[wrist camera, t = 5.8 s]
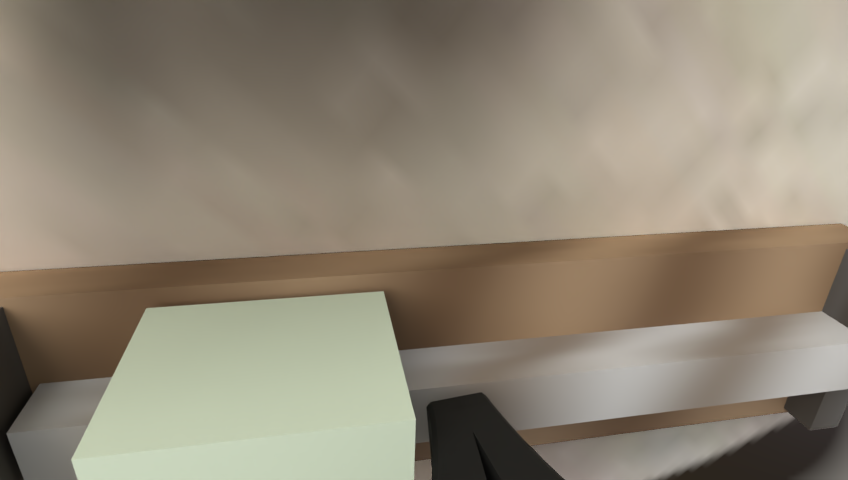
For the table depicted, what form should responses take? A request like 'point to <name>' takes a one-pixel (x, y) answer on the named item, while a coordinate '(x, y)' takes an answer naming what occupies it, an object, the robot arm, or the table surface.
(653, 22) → the table surface
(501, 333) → the rail
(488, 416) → the robot arm
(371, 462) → the carriage
